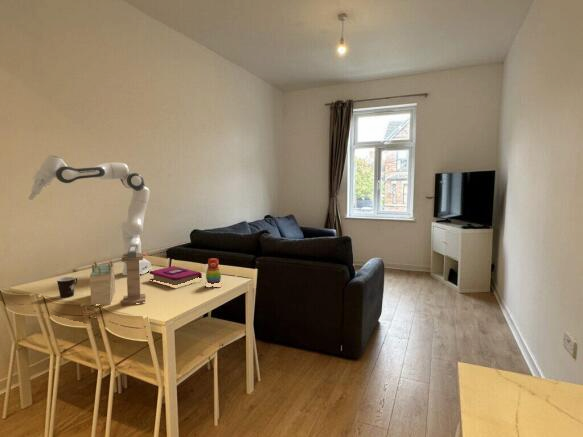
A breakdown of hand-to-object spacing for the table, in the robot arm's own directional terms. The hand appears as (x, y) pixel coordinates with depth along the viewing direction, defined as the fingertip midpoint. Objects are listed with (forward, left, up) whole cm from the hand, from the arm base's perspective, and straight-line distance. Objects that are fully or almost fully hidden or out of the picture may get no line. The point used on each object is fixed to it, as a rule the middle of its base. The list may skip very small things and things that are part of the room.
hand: (30, 199), depth 201 cm
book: (-47, +67, -55) cm, 98 cm away
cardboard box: (-3, +55, -54) cm, 77 cm away
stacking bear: (-50, +95, -54) cm, 120 cm away
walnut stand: (-7, +74, -54) cm, 92 cm away
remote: (-9, +71, -28) cm, 77 cm away
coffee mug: (+1, +33, -54) cm, 63 cm away
